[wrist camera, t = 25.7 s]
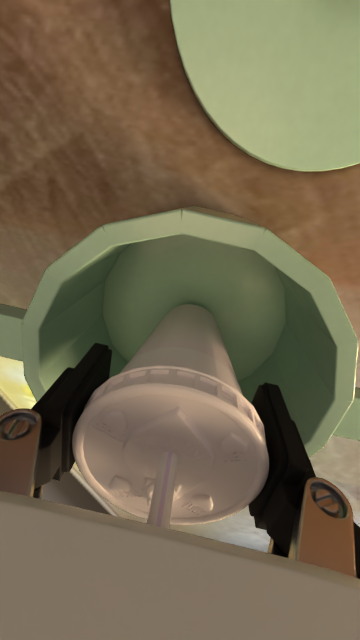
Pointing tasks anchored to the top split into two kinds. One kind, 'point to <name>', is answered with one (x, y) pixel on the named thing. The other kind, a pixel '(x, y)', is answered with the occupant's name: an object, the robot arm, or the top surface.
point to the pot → (203, 290)
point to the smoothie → (174, 429)
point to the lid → (277, 76)
